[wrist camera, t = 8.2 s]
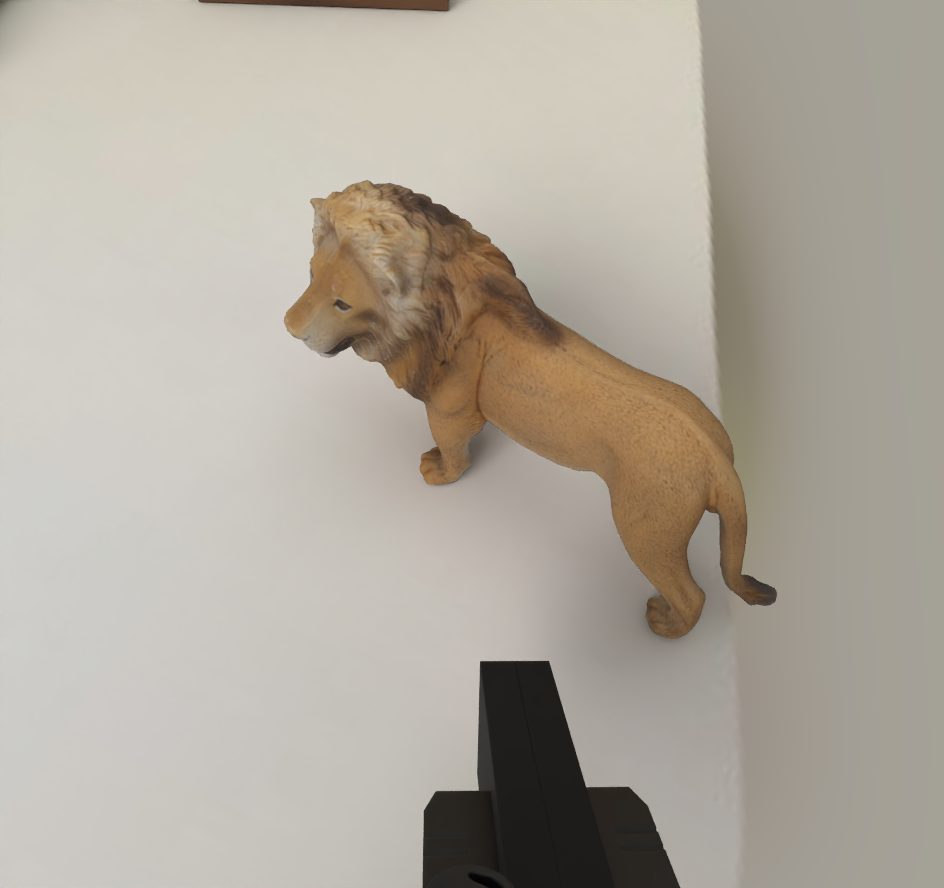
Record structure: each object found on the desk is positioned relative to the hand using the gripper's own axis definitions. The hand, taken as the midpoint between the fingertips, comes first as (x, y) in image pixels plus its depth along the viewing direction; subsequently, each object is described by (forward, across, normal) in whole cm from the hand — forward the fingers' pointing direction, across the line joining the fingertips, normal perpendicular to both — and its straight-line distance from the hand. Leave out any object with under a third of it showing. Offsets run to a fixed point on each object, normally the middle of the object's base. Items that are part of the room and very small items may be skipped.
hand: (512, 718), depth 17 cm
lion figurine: (+8, +1, +3) cm, 8 cm away
